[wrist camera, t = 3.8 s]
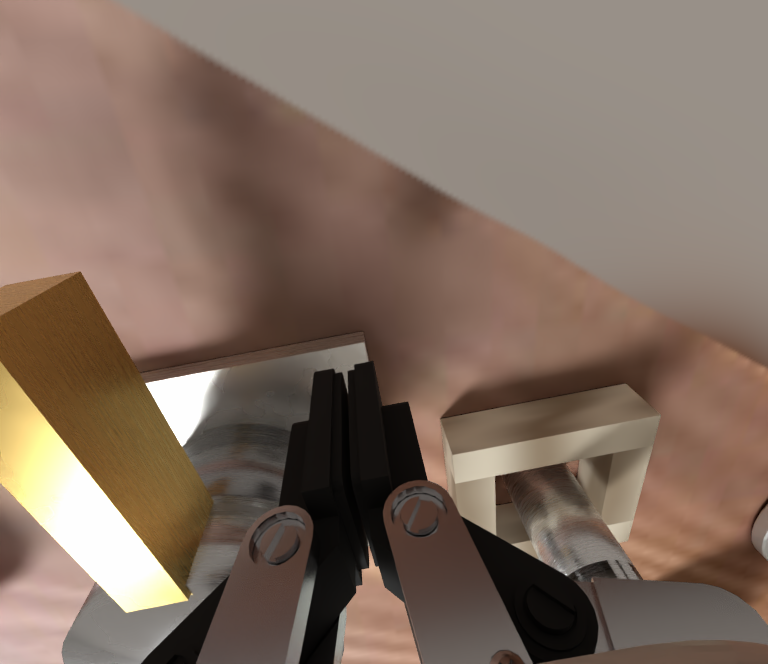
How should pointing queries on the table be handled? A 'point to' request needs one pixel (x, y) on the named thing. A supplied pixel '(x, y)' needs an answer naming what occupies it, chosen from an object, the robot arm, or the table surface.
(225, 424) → the stand
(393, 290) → the table surface
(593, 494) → the key socket block
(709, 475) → the table surface
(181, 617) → the chuck crank
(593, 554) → the grey rounded piece
